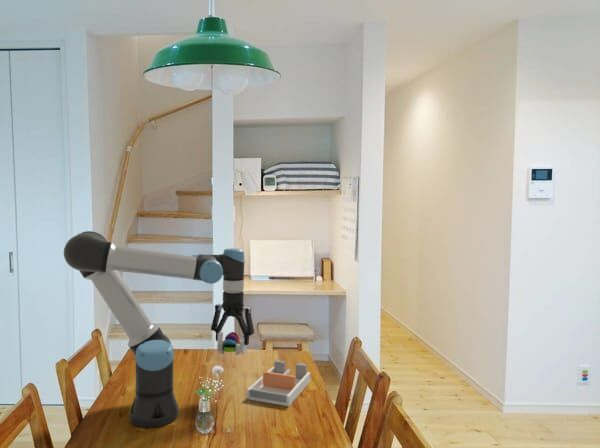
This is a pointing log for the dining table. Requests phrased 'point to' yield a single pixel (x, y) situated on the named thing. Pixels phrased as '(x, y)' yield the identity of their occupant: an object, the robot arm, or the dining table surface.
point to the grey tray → (278, 394)
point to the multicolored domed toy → (231, 344)
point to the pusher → (279, 380)
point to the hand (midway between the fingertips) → (231, 351)
